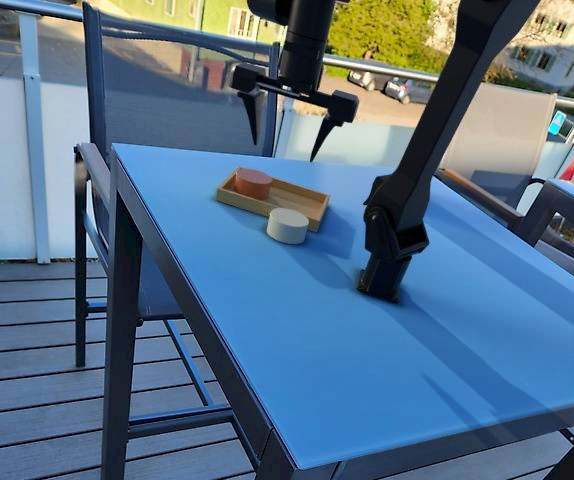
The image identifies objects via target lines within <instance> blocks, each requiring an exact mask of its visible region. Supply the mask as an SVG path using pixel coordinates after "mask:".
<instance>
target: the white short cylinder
mask: <svg viewBox="0 0 574 480" xmlns="http://www.w3.org/2000/svg"><path fill="white" fill-rule="evenodd" d="M308 224H309V220H308V219H307V217H305V216H304V215H303V214H301V213H299V212H297V211H294V210H291V209H285V208H277V209H273V210H272V211H271V212H270V216H269V217H268V221H267V226H266V233H267V235H268V236H269V237H270V238H272V239H274V240H275V241H278V242H280V243H284V244H288V245H299V244H302V243H303V242H304V241H305V239H306V235H307V231H308V230H307V228H308Z"/></svg>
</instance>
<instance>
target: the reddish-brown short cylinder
mask: <svg viewBox="0 0 574 480" xmlns="http://www.w3.org/2000/svg"><path fill="white" fill-rule="evenodd" d="M270 176H271V175H269V174H267V173H266V172H263V171H260V170H258V169H253V168H246V169H239V170H238V171H237V173H236V179H235V185H234V191H235V192H236V193H238V194H241V195H244V196H247V197H250V198H253V199H257V200H266V199H268V197H269V193H270V189H271V184H272V178H271V177H272V176H271V177H270Z"/></svg>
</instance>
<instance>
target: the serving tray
mask: <svg viewBox="0 0 574 480" xmlns="http://www.w3.org/2000/svg"><path fill="white" fill-rule="evenodd" d="M239 169H247V168H246V167H244V166H237V167H236V168H235V169H234V171H232V173H230V174H229V175H228V176H227V177H226V179H224V181H223V182H222V183H221V184H220V185H219V186H218V187H217V188H216V194H215V201H217V202H220V203H224V204H226V205H231V206H232V207H236V208H239V209H241V210H245V211H248V212H251V213H255V214H258V215H260V216H263V217H267V218H269V216H270V212H271V211H272V210H273V209H277V208H285V209H291V210H294V211H297V212H299V213H301V214H303V215H304V216H305V217H307V219H308V220H309V224H308V228H307V231H310V232H314V233H317V232H318V229H319V227H320V225H321V223H322V220H323V217H324V215H325V212H326V210H327V208H328V205H329V201H330V198H331V195H330V194H327V193H325V192H322V191H318V190H315V189H312V188H309V187H305V186H302V185H300V184H296V183H292V182H290V181H286V180H284V179H280V178H277V177H274V176H271V175H269V176H270V177H271V178H272V184H271V189H270V193H269V197H268V199H266V200H257V199H253V198H250V197H247V196H244V195H241V194H238V193H236V192H235V191H234V185H235V179H236V173H237V171H238V170H239Z"/></svg>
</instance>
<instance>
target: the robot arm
mask: <svg viewBox="0 0 574 480" xmlns="http://www.w3.org/2000/svg"><path fill="white" fill-rule="evenodd" d="M245 2H246V4H247V7H248V10H249V12H250V13H251V14H252V15H254V16H255V17H257V18H260V19H263V20H266V21H268V22H271V23H274V24H276V25H279V26H281V27H286V32H285V38H284V41H283V44H282V47H281V50H280V52H279V56H278V61H277V69H278V70H279V71H278V75H277V78H275V77H273V76H268V75H267V69H266V68H265V67H262V66H259V65H255V64H252V63H247V62H245V61H244V62H242V63H239V64H237V65H235V66H233V67H232V69H231V71H230V74H229V83H228V87H229V88H231V89H233V90H235V91H236V96H237V98H240V99H242V102H243V105H244V108H245V111H246V115H247V118H248V122H249V128H250V132H251V138H252V143H253V146H256V147H257V146H258V144H259V140H260V137H261V124H262V114H263V113H262V111H263V103H264V99H265V95H266V94H265V93H266V92H268V93H272V94H276V95H279V96H283V97H285V98H289V99H293V100H295V101H299V102H303V103H306V104H310V105H313V106H317V107H319V108H321V109H322V108H323V109H326V112H327V113H326V114H325V115H324V117H323V118H322V120H321V124H320V126H319V129H318V132H317V134H316V135H317V136H316V138H315V141H314V143H313V147H312V149H311V153H310V157H309V162H310V163H313V162H314V160H315V158H316V156H317V155H318V154H319V151H320V149H321V147H322V146H323V144H324V142H325V140H326V139H327V138H328V136H329V135H330V133H331V132H332V131H333V130H334V128H335V127H337V128H342V127H343V126H344V124H345V123H347V124H353V122H354V120H355V119H356V116H357V112H358V109H359V105H360V99H359V96H358V95H355V94H353V93H349V92H346V91H342V90H339V89H335V90H334V91H333V92H332V93H331V94H330V93H326V92H323V91H319V89H320V88H321V87H320V86H321V84H322V83H321V82H322V78H323V74H324V70H325V66H324V55H325V51H326V47H327V43H328V37H329V33H330V29H331V25H332V20H333V15H334V11H335V7H336V2H339V3H343V4H344V3H345V4H349V3H350V2H351V0H245ZM541 2H542V0H459V2H458V6H457V11H456V22H455V33H454V34H455V35H454V42H453V44H452V48H451V50H450V52H449V55H448V56H447V59H446V61H445V63H444V65H443V67H442V69H441V72H440V73H439V76H438V78H437V80H436V83H435V84H434V87H433V89H432V91H431V94H430V95H429V98H428V100H427V102H426V104H425V106H424V109H423V111H422V113H421V115H420V117H419V120H418V122H417V124H416V126H415V128H414V130H413V133H412V134H411V137H410V139H409V142H408V144H407V145H406V148H405V150H404V152H403V155H402V156H401V159H400V161H399V164H398V165H397V167H396V169H395V170H394V171H393V172H392V173H389V174H383V175H377V176H376V177H375V178H374V180H373V182H372V185H371V189H370V192H369V194H368V196H367V198H366V199H365V200H364V201H363V202H362V206H365V207H364V211H363V215H362V221H363V222H364V225H365V232H364V250H365V251H367V252H369V253H370V256H369V258H368V262H367V263H366V266H365V268H364V269H363V268H361V269H360V270H359V274H358V279H357V284H356V291H357V292H360V293H363V294H365V295H369V296H372V297H375V298H378V299H381V300H385V301H387V302H391V303H394V304H399V302H400V299H401V298H400V296H401V284H402V282H403V280H404V278H405V275H406V273H407V270H408V268H409V266H410V264H411V261H412V259H413V256H414V255H417V254H422V253H423V252H424V251H425V250H426V249H427V247H429V245H430V243H431V242H430V239H429V235H428V232H427V229H426V225H425V222H424V218H425V215H426V212H427V210H428V206H429V203H430V200H431V185H432V184H431V183H432V179H433V177H434V175H435V173H436V171H437V169H438V167H439V165H440V163H441V162H442V159H443V158H444V156H445V154H446V152H447V150H448V148H449V146H450V144H451V142H452V140H453V139H454V136H455V135H456V133H457V130H458V129H459V126H460V125H461V123H462V121H463V119H464V118H465V115H466V113H467V111H468V109H469V107H470V105H471V104H472V102H473V99H474V98H475V96H476V94H477V92H478V90H479V88H480V86H481V84H482V82H483V80H484V78H485V77H486V75H487V73H488V70H489V68H490V67H491V65H492V64H493V61H494V60H495V59H496V57H497V56H498V55H499V54H501V52H502V51H503V50H504V49H505V48H506V47H507V46H508V44H510V43H511V41H513V39H514V38H515V37H516V36H517V35H518V34H519V33H520V32H521V31H522V29H523V27H524V26H525V25H526V23H527V22H528V20H529V19H530V18H531V16H532V14H533V13H534V11H535V10H536V8H538V6H539V5H540V3H541ZM284 87H286V88H284ZM287 88H289V89H287Z"/></svg>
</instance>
